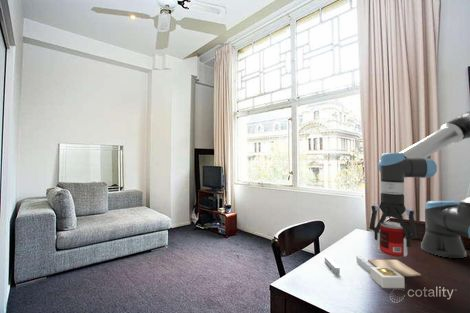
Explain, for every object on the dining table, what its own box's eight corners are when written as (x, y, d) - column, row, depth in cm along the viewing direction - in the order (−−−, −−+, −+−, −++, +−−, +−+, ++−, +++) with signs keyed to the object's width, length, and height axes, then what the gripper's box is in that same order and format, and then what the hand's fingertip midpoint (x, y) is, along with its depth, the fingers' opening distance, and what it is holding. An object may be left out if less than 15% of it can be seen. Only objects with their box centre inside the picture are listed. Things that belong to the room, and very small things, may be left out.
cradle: (360, 262, 93) (360, 256, 93) (375, 274, 83) (375, 267, 83) (324, 262, 93) (324, 256, 93) (335, 274, 83) (335, 267, 83)
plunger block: (389, 276, 81) (389, 267, 81) (404, 288, 74) (404, 277, 74) (370, 276, 81) (370, 267, 81) (383, 288, 74) (382, 277, 74)
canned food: (408, 253, 87) (408, 224, 87) (398, 258, 82) (399, 228, 83) (385, 247, 93) (385, 220, 93) (376, 251, 89) (376, 223, 89)
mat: (397, 261, 94) (397, 259, 94) (420, 276, 82) (420, 274, 82) (367, 261, 94) (367, 259, 94) (387, 276, 82) (387, 274, 82)
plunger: (388, 276, 80) (388, 267, 80) (396, 282, 76) (396, 273, 76) (377, 276, 80) (377, 267, 80) (384, 282, 76) (384, 273, 76)
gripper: (359, 190, 93) (359, 247, 93) (425, 197, 78) (425, 263, 78) (365, 189, 98) (365, 242, 98) (427, 194, 84) (427, 257, 83)
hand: (392, 251), depth 88 cm, fingers closed on canned food, 8 cm apart
